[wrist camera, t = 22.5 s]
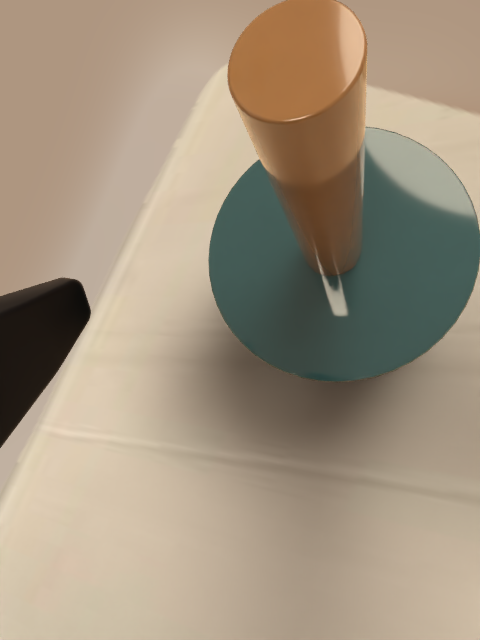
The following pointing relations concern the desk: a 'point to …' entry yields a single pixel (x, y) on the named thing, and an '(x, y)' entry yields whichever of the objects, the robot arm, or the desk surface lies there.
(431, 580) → the desk surface
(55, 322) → the robot arm
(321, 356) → the lid
